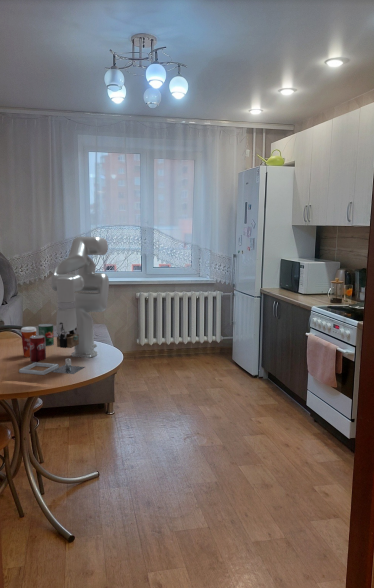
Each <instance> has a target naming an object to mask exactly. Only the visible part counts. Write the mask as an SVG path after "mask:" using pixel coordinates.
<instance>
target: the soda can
mask: <svg viewBox="0 0 374 588" xmlns="http://www.w3.org/2000/svg"><path fill="white" fill-rule="evenodd" d="M29 342H30V357H29V359H30V362H31V364H33V363H35V362H37V363H40V362H42V361H44V360H46V359H47V346H46V342H45V336H43V335H39V334H38V335H37V334H36V335H35V336H31V337H30V338H29Z"/></svg>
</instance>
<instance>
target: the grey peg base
mask: <svg viewBox="0 0 374 588" xmlns="http://www.w3.org/2000/svg"><path fill="white" fill-rule="evenodd" d="M64 361H65V364H64V365H61V366H59V367H58V368H56V369H54V370H52V371H50V373H57V374H58V373H59V374H67V375H74V374H76V373H78V372H80V371H81V370H83V369H86V366H78V365H77V366H76V365H72V358H69V357H68V358H65V360H64Z"/></svg>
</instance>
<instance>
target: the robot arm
mask: <svg viewBox="0 0 374 588" xmlns="http://www.w3.org/2000/svg"><path fill="white" fill-rule="evenodd" d="M108 250H109V244H108V241H107V239H105V238H104V237H100V236H78V237H77V236H76V237H75V238H73V241H72V243H71V247H70V249H69V253H68V257H67V258H64V259H63V260H62V261H61V262H59V263H58V264H57V265H56V266H55V267H54V269H53V272H52V274H51V279H50V286H51V289H52V290H53V291H55V292H56V297H57V298H56V299H57V301H56V302H57V311H56V325H55V326H56V327H55V328H56V334H57V337H58V336H59V339H60V347H59V348H62V349H68V348H67V339H66V335H67V334H79V344H78V345H76V346H74V351H73V352H72V353H71V357H73V358H85V359H89V358H93V357H96V356H97V355H98V352H97V351H96V350H95V349H96V348H97V347H98V345H97V343H95V341H94V340H95V338H94V335H95V333H94V329H95V328H94V318H93V316H92V315H91V314H90V313H103V312H105V311H106V310H107V308H108V299H109V298H108V297H109V291H110V290H109V289H110V281H109V276H108V275H107V274H106V273H103V272H96V264H95V262H94V260H93V259H92V258H91V257H90V256H104V255H106V254H107V252H108ZM75 271H77V274H69V273H72V272H75ZM79 291H80V292H79ZM76 292H77V293H76ZM63 334H64V335H63Z"/></svg>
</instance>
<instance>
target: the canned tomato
mask: <svg viewBox="0 0 374 588" xmlns="http://www.w3.org/2000/svg"><path fill="white" fill-rule="evenodd" d="M37 329H38V335H43V336H45V342H46V347H50V346H53V345H54V344H55V341H54V340H55V339H54V323H39V324H38V328H37Z"/></svg>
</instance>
